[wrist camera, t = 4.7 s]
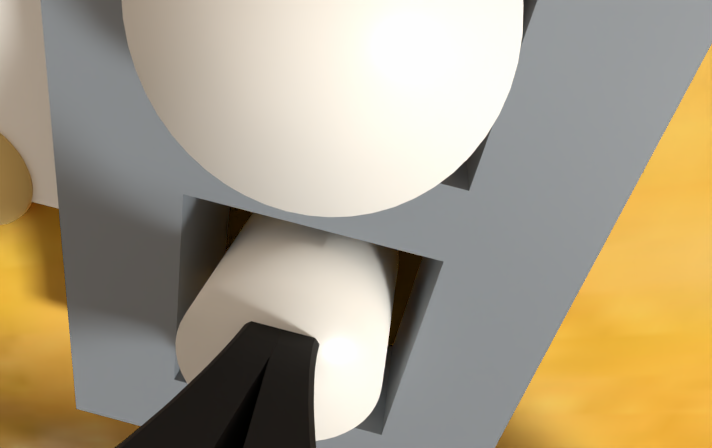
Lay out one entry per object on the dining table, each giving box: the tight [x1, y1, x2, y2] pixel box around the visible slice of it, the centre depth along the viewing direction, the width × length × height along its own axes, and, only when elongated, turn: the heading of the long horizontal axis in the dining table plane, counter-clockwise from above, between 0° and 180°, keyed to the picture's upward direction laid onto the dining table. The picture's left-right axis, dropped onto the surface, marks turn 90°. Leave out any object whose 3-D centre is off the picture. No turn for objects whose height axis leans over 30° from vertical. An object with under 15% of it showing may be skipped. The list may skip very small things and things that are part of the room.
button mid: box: [122, 0, 523, 217], centre depth 7 cm, size 4×4×4 cm
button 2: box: [175, 212, 399, 441], centre depth 12 cm, size 4×4×4 cm
